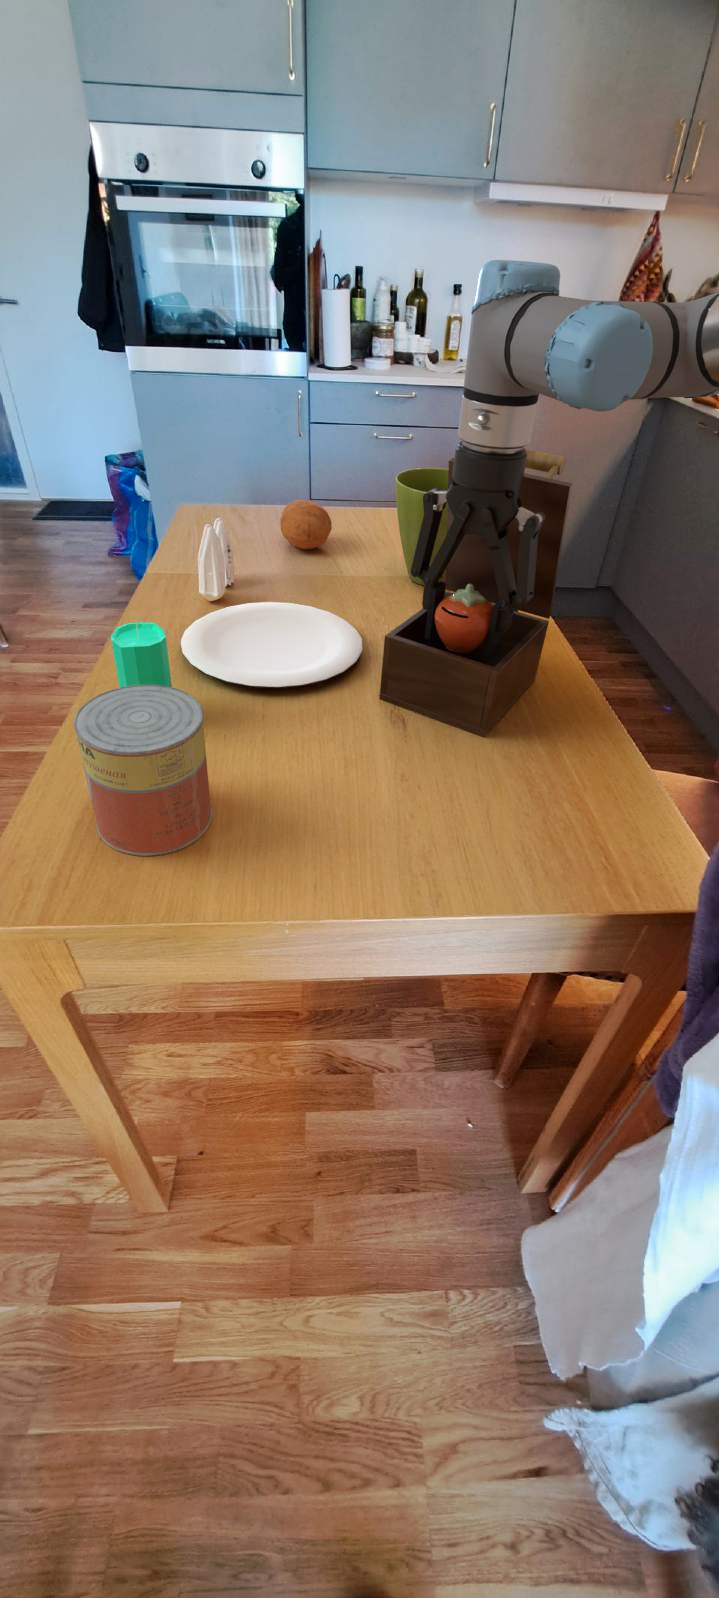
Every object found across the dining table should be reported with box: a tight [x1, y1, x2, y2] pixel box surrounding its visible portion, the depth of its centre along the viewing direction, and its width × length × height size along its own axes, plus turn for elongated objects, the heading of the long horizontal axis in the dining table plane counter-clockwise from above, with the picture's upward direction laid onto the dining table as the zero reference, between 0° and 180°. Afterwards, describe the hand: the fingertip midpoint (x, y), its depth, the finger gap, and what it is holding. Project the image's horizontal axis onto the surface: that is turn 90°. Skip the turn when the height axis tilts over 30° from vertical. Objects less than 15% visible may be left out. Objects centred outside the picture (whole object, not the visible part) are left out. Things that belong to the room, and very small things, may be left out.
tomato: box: [435, 584, 493, 653], centre depth 88 cm, size 7×7×8 cm
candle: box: [110, 620, 173, 688], centre depth 84 cm, size 6×6×12 cm
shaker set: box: [197, 517, 235, 602], centre depth 113 cm, size 12×4×11 cm, turn 177°
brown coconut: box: [279, 499, 333, 550], centre depth 132 cm, size 9×11×8 cm
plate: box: [180, 601, 363, 689], centre depth 102 cm, size 25×25×2 cm
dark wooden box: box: [379, 590, 550, 738], centre depth 94 cm, size 17×15×9 cm
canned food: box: [73, 685, 213, 857], centre depth 70 cm, size 11×11×12 cm
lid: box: [445, 448, 573, 620], centre depth 92 cm, size 18×15×10 cm
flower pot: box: [395, 467, 448, 586], centre depth 121 cm, size 15×15×16 cm
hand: (461, 643), depth 91 cm, fingers closed on tomato, 7 cm apart
